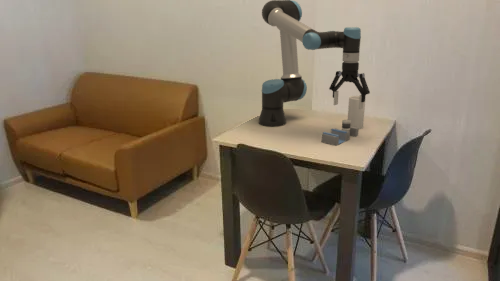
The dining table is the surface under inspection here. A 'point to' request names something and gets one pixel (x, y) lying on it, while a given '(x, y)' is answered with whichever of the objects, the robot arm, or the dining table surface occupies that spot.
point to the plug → (346, 125)
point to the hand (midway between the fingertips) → (347, 106)
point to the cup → (355, 112)
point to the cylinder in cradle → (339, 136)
